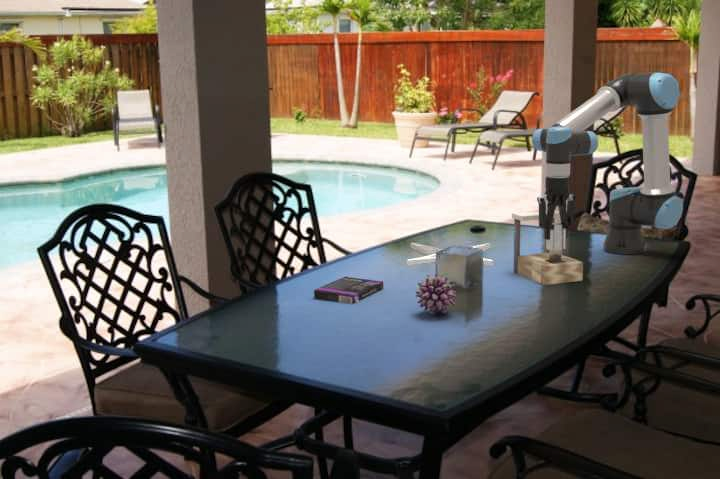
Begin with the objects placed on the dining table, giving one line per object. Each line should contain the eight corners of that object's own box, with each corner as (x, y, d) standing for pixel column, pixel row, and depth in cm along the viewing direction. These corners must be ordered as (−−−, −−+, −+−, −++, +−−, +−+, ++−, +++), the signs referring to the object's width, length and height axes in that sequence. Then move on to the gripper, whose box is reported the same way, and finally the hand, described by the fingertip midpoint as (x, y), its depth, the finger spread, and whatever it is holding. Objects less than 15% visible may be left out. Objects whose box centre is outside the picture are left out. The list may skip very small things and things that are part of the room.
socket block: (554, 269, 314) (554, 251, 313) (582, 280, 299) (583, 262, 297) (517, 273, 310) (517, 255, 308) (544, 284, 294) (544, 266, 293)
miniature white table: (552, 267, 317) (554, 209, 313) (563, 271, 311) (564, 212, 307) (511, 272, 311) (511, 213, 307) (520, 276, 306) (521, 216, 301)
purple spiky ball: (429, 322, 256) (429, 280, 254) (407, 312, 267) (407, 271, 264) (464, 316, 261) (464, 275, 259) (441, 306, 272) (441, 266, 270)
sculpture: (406, 259, 323) (410, 242, 352) (406, 267, 324) (410, 249, 353) (493, 260, 320) (490, 242, 349) (493, 267, 321) (490, 249, 350)
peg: (564, 261, 298) (565, 224, 296) (553, 262, 297) (554, 225, 295) (557, 258, 302) (558, 222, 300) (546, 259, 301) (547, 223, 298)
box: (353, 307, 276) (384, 290, 293) (352, 295, 276) (384, 280, 292) (313, 301, 283) (346, 285, 300) (313, 289, 282) (346, 274, 299)
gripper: (574, 173, 300) (572, 244, 305) (527, 176, 295) (526, 248, 299) (587, 176, 293) (585, 248, 298) (540, 179, 288) (538, 253, 292)
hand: (555, 248), depth 299 cm, fingers closed on peg, 4 cm apart
